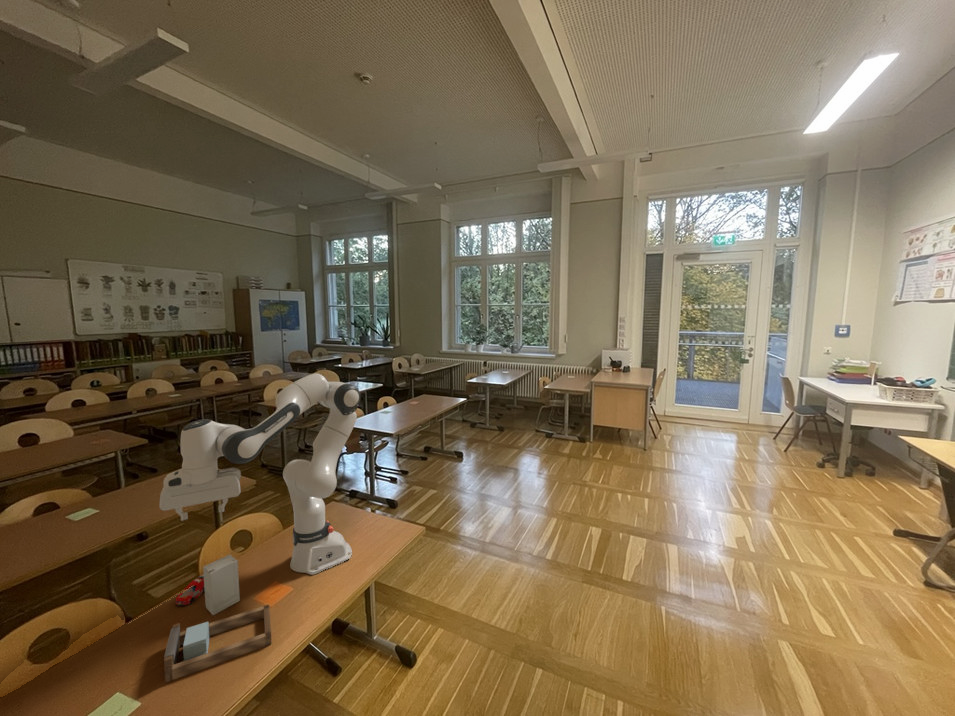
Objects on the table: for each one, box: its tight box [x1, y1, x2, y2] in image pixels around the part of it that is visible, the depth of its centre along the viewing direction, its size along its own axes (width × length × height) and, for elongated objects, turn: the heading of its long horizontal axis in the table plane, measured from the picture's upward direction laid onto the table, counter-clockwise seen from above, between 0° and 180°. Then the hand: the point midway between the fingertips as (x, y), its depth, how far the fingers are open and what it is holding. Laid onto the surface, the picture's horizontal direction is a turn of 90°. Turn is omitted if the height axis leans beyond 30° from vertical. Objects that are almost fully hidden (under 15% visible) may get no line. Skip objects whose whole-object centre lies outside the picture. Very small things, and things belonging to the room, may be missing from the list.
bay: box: [163, 604, 272, 684], centre depth 109 cm, size 24×14×6 cm, turn 121°
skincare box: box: [202, 554, 241, 616], centre depth 123 cm, size 8×6×15 cm
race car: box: [175, 574, 205, 607], centre depth 129 cm, size 13×5×4 cm, turn 174°
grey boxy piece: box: [182, 621, 210, 661], centre depth 106 cm, size 5×8×6 cm, turn 31°
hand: (203, 515), depth 118 cm, fingers open, 8 cm apart
